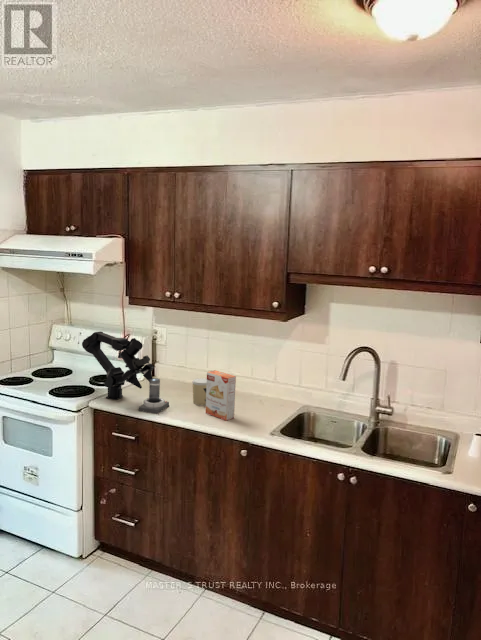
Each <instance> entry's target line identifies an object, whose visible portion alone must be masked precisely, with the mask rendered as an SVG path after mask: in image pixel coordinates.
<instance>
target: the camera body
mask: <svg viewBox="0 0 481 640" xmlns="http://www.w3.org/2000/svg"><path fill="white" fill-rule="evenodd" d="M169 406H170V401H166V400H164V399H163V397H159V402H158V403H150V402H149V397H147V398H145V399H143V404H141V405H140V406H139V407H138V412H143V413H149V414H156V415H158V414H160V413H161V412H163V411H164V410H165V409H166V408H168V407H169Z"/></svg>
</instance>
